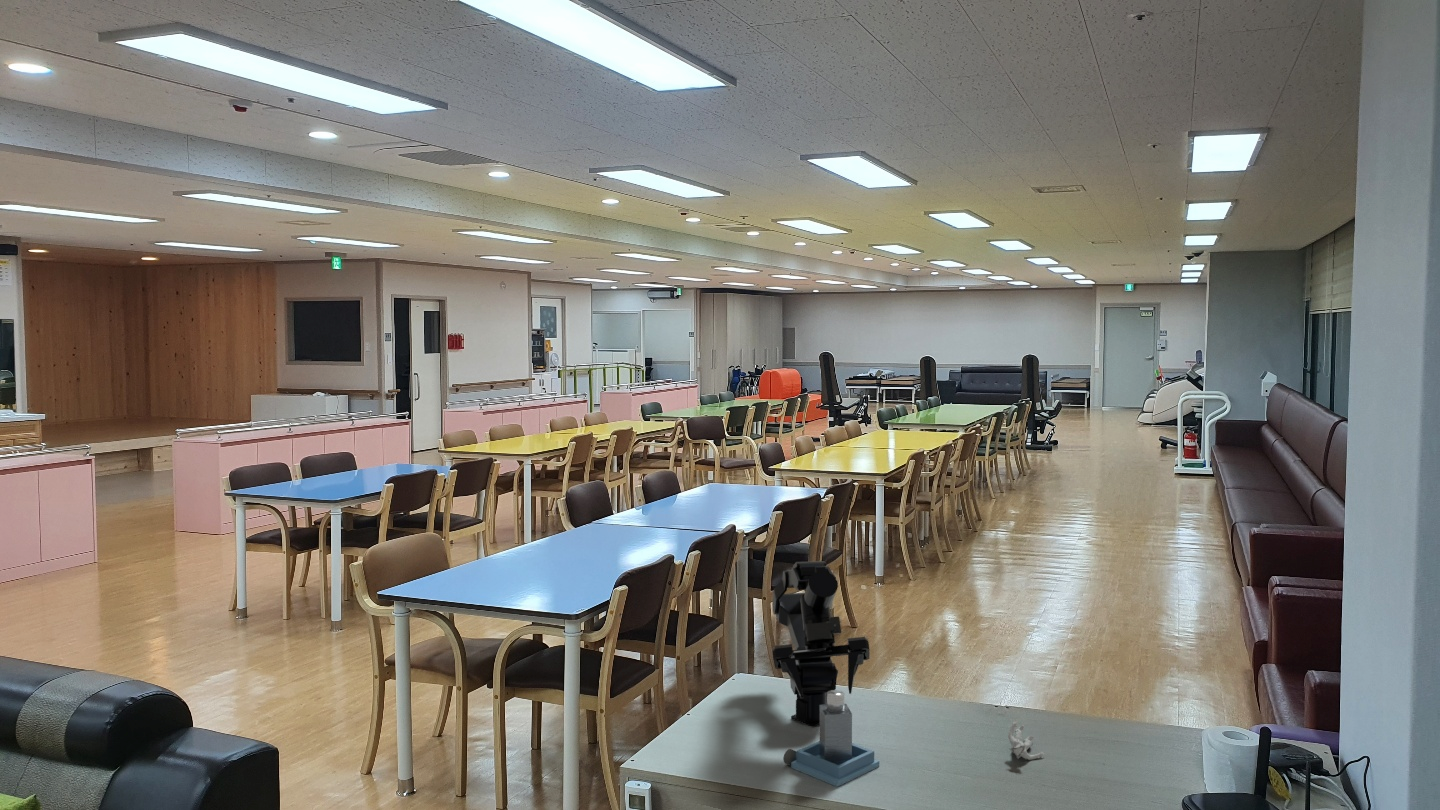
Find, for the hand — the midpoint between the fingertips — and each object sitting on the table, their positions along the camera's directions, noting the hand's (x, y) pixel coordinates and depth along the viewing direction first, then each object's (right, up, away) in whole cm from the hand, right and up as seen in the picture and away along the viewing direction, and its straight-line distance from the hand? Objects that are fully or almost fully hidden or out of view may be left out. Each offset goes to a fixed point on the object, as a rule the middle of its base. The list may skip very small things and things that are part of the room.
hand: (826, 695), depth 199 cm
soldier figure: (+37, -11, -1) cm, 39 cm away
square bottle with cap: (+1, -10, -7) cm, 13 cm away
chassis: (+1, -11, -7) cm, 13 cm away
